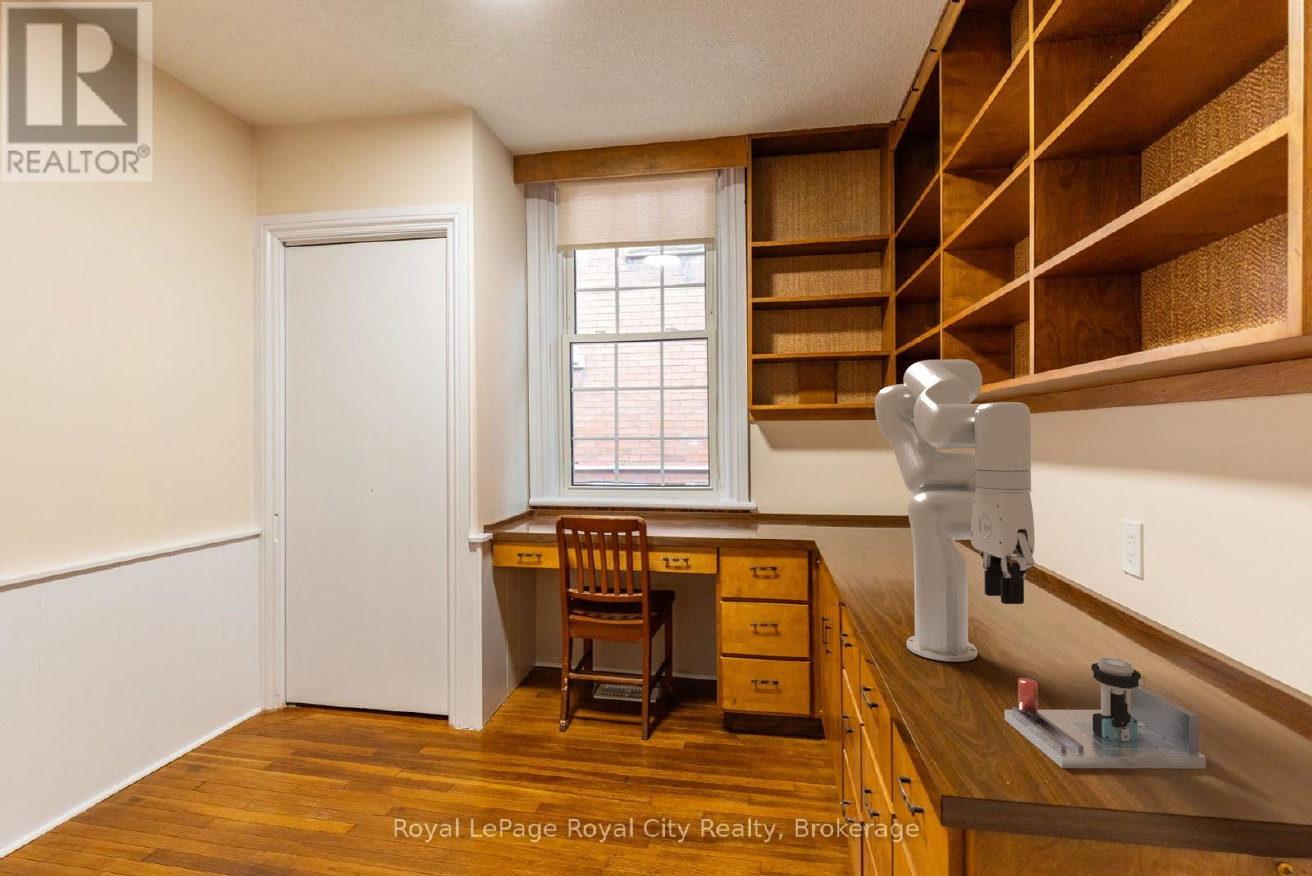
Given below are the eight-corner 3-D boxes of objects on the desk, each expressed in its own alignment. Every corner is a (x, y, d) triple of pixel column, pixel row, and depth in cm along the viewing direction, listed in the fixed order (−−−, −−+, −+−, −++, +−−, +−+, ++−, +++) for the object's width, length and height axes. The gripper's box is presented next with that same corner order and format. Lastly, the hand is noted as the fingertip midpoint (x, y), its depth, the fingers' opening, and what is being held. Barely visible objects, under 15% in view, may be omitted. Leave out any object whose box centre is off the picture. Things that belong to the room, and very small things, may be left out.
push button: (1127, 725, 83) (1126, 654, 83) (1161, 745, 78) (1161, 669, 78) (1082, 727, 83) (1081, 656, 83) (1114, 747, 78) (1113, 671, 78)
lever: (1013, 710, 88) (1013, 677, 88) (1030, 710, 88) (1029, 677, 88) (1025, 720, 85) (1025, 685, 85) (1042, 720, 85) (1042, 685, 85)
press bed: (1004, 719, 89) (1004, 676, 89) (1126, 719, 88) (1126, 676, 88) (1061, 768, 76) (1061, 717, 76) (1205, 768, 75) (1205, 717, 75)
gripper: (952, 478, 100) (953, 586, 100) (1008, 486, 84) (1010, 615, 84) (997, 477, 100) (998, 585, 100) (1062, 486, 84) (1063, 615, 84)
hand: (1003, 598), depth 92 cm, fingers open, 3 cm apart
